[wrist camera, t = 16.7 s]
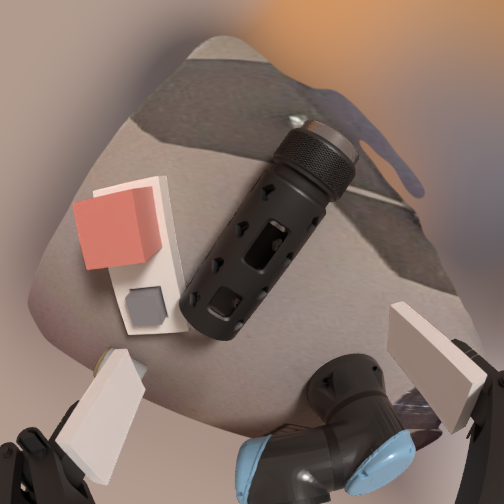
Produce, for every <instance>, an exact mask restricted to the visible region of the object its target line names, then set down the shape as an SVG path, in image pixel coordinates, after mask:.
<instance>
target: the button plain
mask: <svg viewBox="0 0 504 504" xmlns="http://www.w3.org/2000/svg"><path fill="white" fill-rule="evenodd" d="M125 300H126V304H127V307H128V310H129V314H130V317H131V320H132V323H133V326H150V325H162V324H163V322H164V320H165V318H166V316H167V310H166V306H165V302H164V298H163V294H162V290H161V286H154V287H145V288H135V289H132V290H131V292H130V293H129V294H128V295H127V296H126V297H125Z"/></svg>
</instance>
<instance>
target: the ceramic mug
mask: <svg viewBox="0 0 504 504" xmlns="http://www.w3.org/2000/svg"><path fill="white" fill-rule="evenodd" d="M114 350H115V348H113V347H109V348H107V349H106V350H105V351H104V353H103V354H102V356H101V357H100V359H99V361H98V362H97V364H96V367H95V369H94V378H95V377H96V376H97V374H98V373H99V371H100V370H101V368H102V367H103V365H104V364H105V363H106V361H107V360H108V358H109V357H110V355H111V354H112V352H113V351H114ZM131 360H132V362H133V364H134V366H135V369H136V371H137V373H138V375H139V377H140V379H141V380H142V378H143V377H144V375H145V373H146V371H147V369H148V367H147V366H145V365H143V364H141V363H140V362H138V361H136V360H134V359H133V358H131Z"/></svg>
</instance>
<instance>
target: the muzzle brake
mask: <svg viewBox="0 0 504 504" xmlns="http://www.w3.org/2000/svg"><path fill="white" fill-rule="evenodd" d="M274 156H275V157H274V158H273V160H274V162H275V164H274V166H273V167H272V169H271V170H266V171H264V173H263V174H262V176H261V177H260V179H259V180H258V182H257V183H256V185H255V186H254V187H253V189H252V190H251V191H250V193H249V194H248V196H247V197H246V199H245V200H244V202H243V203H242V205H241V206H240V208H239V209H238V210H237V212H236V214H235V215H234V217H233V218H232V220H231V221H230V223H229V224H228V225H227V227H226V228H225V230H224V231H223V233H222V234H221V236H220V237H219V239H218V240H217V242H216V243H215V245H214V247H213V248H212V250H211V251H210V253H209V254H208V256H207V257H206V259H205V260H204V262H203V263H202V265H201V266H200V268H199V269H198V271H197V273H196V274H195V276H194V277H193V279H192V281H191V283H190V284H189V285H188V287H187V288H186V290H185V291H184V293H183V295H182V296H181V298H180V299H179V308H180V311H181V313H182V315H183V316H184V318H185V319H186V320H187V321H188V322H189V323H190V324H191V325H192V326H193V327H194V328H195V329H196V330H198V331H199V332H201V333H203V334H204V335H206V336H208V337H210V338H213V339H216V340H221V341H228V340H232V339H233V338H234V337H235V336H236V335H237V333H238V332H239V331H240V329H241V328H242V327H243V326H244V324H245V323H246V322H247V320H248V319H249V318H250V317H251V315H252V314H253V313H254V311H255V310H256V309H257V307H258V306H259V305H260V304H261V302H262V301H263V300H264V298H265V297H266V296H267V294H268V293H269V292H270V290H271V289H272V288H273V286H274V285H275V284H276V282H277V281H278V280H279V278H280V277H281V276H282V274H283V273H284V272H285V270H286V269H287V268H288V266H289V265H290V263H291V262H292V261H293V259H294V258H295V257H296V255H297V254H298V253H299V251H300V250H301V248H302V247H303V246H304V244H305V243H306V241H307V240H308V239H309V237H310V236H311V235H312V233H313V232H314V230H315V229H316V227H317V226H318V225H319V223H320V222H321V220H322V219H323V218H324V216H325V215H326V209H325V207H326V206H327V205H328V203H329V202H335V201H336V200H339V199H340V197H341V196H342V195H343V193H344V192H345V190H346V189H347V187H348V186H349V184H350V183H351V181H352V180H353V178H354V177H355V164H356V163H357V161H358V160H359V154H358V152H357V150H356V149H355V147H354V146H353V145H352V144H351V143H350V142H349V141H348V140H347V139H346V138H345V137H344V136H343V135H341V134H340V133H339V132H337V131H336V130H334V129H333V128H331V127H329V126H327V125H325V124H323V123H320V122H317V121H314V120H307V121H305V122H304V124H303V125H302V126H301V128H296V129H293V130H291V131H290V132H289V133H288V135H287V136H286V138H285V139H284V140H283V142H282V143H281V145H280V146H279V147H278V149H277V150H276V152H275V153H274ZM279 240H282V244H281V245H280V246H279V247H278V250H277V251H275V245H274V242H275V241H279ZM259 269H260V270H259ZM197 298H198V299H199V300H198V301H197V302H196V300H197ZM236 298H239V299H240V302H239V303H238V304H236V307H235V308H234V299H236ZM210 304H211V305H212V306H214V307H216V308H217V309H218V310H219V311H221V312H222V313H223V314H224V315H225V316H222V315H220V314H218V313H217V312H215V311H214V310H212V309H211V308H210Z"/></svg>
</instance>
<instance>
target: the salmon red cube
mask: <svg viewBox="0 0 504 504" xmlns="http://www.w3.org/2000/svg"><path fill="white" fill-rule="evenodd" d="M73 208H74V214H75V220H76V225H77V230H78V235H79V240H80V244H81V249H82V253H83V257H84V261H85V265H86V269H87V270H92V269H99V268H107V267H115V266H122V265H130V264H138V263H146V262H147V261H148V260H149V259H150V258H151V257H152V256H153V255H154V254H155V253H156V252H157V251H158V250H159V249H160V248H162V242H161V237H160V231H159V226H158V220H157V214H156V208H155V202H154V195H153V188H152V186H150V187H142V188H135V189H129V190H125V191H120V192H116V193H111V194H107V195H103V196H99V197H95V198H91V199H87V200H83V201H79V202H75V203H73Z"/></svg>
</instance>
